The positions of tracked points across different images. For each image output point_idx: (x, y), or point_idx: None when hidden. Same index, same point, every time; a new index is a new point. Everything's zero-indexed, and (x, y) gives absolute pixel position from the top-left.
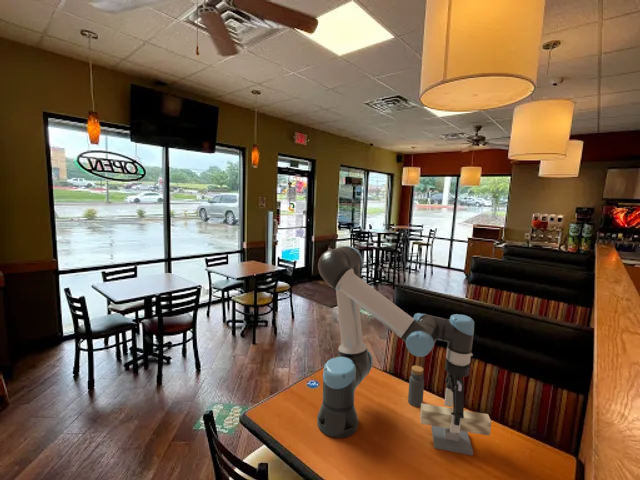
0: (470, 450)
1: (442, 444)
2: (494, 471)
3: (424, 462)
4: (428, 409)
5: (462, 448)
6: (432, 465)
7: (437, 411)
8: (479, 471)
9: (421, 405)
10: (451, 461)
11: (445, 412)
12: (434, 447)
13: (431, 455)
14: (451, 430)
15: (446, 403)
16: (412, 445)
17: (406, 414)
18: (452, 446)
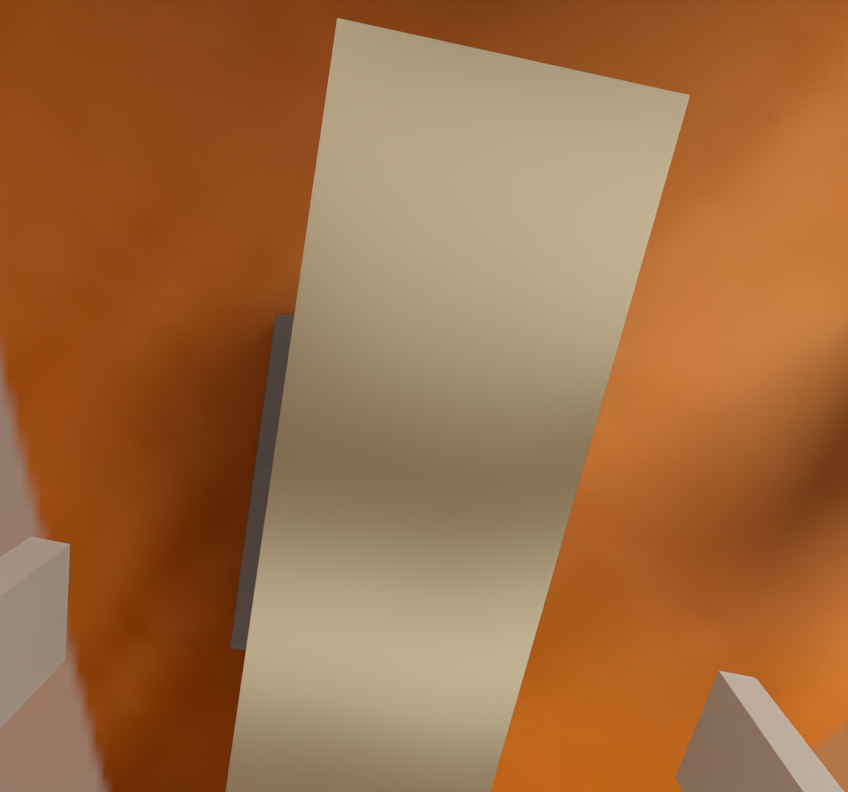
0: (237, 630)
1: (280, 397)
2: (110, 707)
3: (84, 148)
4: (396, 247)
5: (253, 571)
6: (63, 221)
7: (329, 468)
8: (85, 604)
9: (571, 70)
10: (148, 420)
11: (314, 642)
12: (292, 314)
13: (188, 251)
14: (4, 560)
15: (737, 737)
16: (299, 73)
17: (818, 130)
18: (264, 488)
